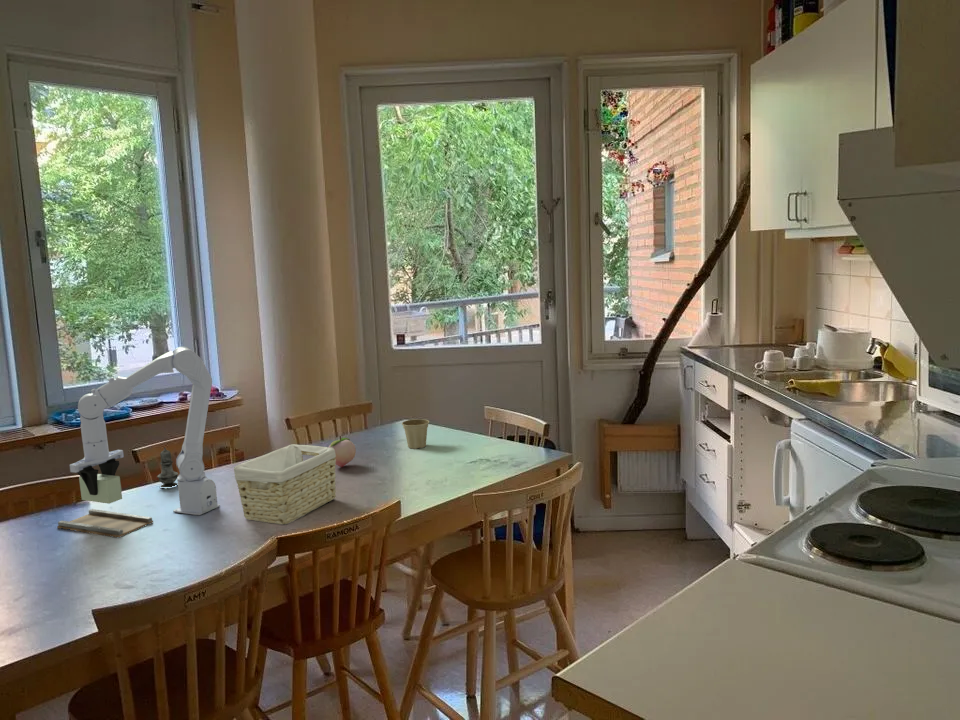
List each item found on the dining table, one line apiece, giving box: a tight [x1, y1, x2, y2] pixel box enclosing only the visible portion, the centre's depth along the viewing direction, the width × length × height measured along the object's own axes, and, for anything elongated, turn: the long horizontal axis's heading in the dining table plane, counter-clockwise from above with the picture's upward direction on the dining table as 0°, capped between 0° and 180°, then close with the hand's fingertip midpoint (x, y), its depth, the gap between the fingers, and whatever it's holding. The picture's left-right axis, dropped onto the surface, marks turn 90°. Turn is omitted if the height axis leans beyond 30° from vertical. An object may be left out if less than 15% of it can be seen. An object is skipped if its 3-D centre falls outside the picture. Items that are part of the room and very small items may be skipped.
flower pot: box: [401, 418, 430, 450], centre depth 266 cm, size 9×9×9 cm
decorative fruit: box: [328, 435, 357, 468], centre depth 245 cm, size 9×8×10 cm
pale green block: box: [78, 473, 123, 504], centre depth 201 cm, size 10×4×6 cm, turn 66°
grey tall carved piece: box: [157, 447, 179, 487], centre depth 233 cm, size 6×6×12 cm
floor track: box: [57, 508, 154, 538], centre depth 202 cm, size 22×11×2 cm, turn 65°
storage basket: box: [233, 443, 337, 525], centre depth 207 cm, size 24×16×15 cm
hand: (101, 491), depth 201 cm, fingers closed on pale green block, 4 cm apart
